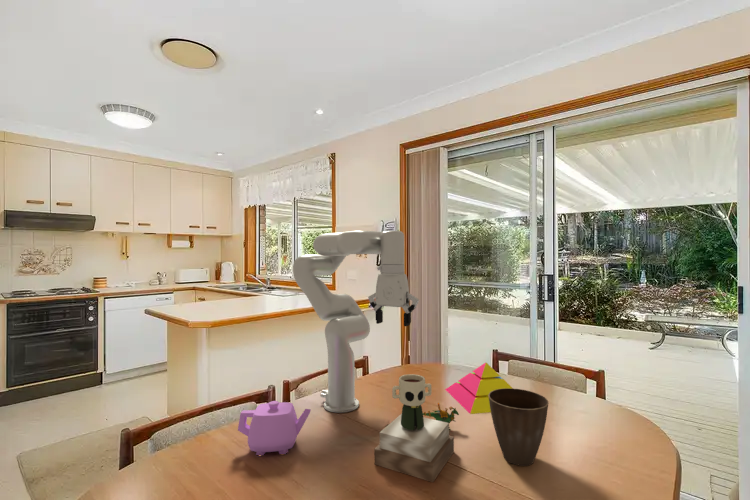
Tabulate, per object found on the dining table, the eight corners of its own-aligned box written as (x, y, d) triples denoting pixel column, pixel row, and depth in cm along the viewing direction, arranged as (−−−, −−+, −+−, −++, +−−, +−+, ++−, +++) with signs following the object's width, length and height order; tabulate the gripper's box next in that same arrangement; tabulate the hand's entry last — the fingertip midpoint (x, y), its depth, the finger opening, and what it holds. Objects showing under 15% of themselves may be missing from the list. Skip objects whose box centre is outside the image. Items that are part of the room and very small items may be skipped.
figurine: (460, 430, 116) (460, 404, 116) (421, 431, 115) (421, 404, 115) (457, 426, 119) (457, 400, 119) (419, 427, 118) (419, 401, 119)
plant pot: (482, 443, 108) (482, 387, 108) (535, 444, 107) (535, 387, 107) (498, 474, 93) (497, 409, 93) (559, 475, 92) (558, 409, 93)
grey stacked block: (374, 464, 98) (374, 433, 98) (401, 437, 111) (401, 410, 112) (432, 482, 90) (432, 448, 90) (453, 451, 104) (453, 422, 104)
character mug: (395, 435, 97) (395, 384, 97) (389, 422, 104) (389, 375, 104) (436, 431, 99) (435, 381, 99) (427, 419, 106) (427, 372, 106)
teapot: (232, 461, 99) (232, 413, 99) (243, 438, 112) (243, 395, 112) (309, 456, 102) (309, 409, 102) (312, 434, 114) (311, 392, 114)
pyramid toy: (536, 411, 131) (536, 370, 132) (469, 417, 127) (468, 374, 127) (500, 386, 156) (500, 351, 156) (443, 390, 152) (442, 355, 152)
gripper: (362, 270, 120) (363, 323, 120) (412, 270, 111) (413, 328, 111) (374, 269, 126) (374, 320, 126) (422, 269, 118) (423, 324, 118)
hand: (392, 324), depth 119 cm, fingers open, 9 cm apart
